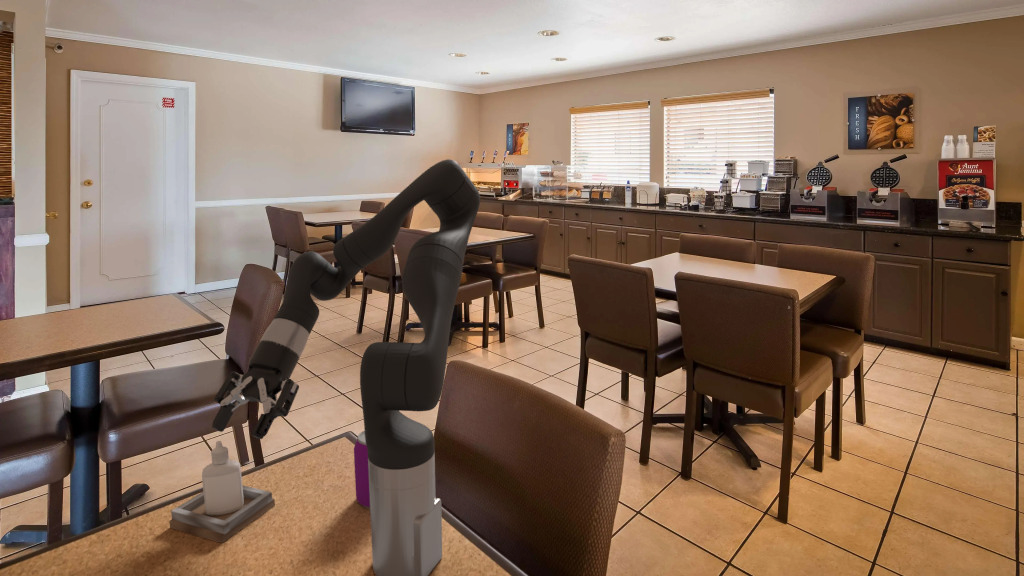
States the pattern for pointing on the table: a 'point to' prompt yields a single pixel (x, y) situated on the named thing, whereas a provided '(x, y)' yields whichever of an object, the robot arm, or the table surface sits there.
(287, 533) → the table surface
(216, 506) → the eye dropper bottle
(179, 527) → the grey square tray
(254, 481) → the table surface
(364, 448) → the beverage can
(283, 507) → the table surface
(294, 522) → the table surface
